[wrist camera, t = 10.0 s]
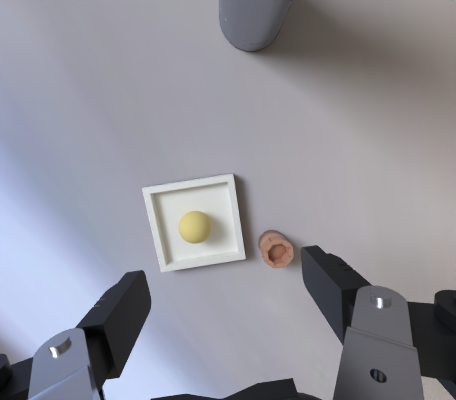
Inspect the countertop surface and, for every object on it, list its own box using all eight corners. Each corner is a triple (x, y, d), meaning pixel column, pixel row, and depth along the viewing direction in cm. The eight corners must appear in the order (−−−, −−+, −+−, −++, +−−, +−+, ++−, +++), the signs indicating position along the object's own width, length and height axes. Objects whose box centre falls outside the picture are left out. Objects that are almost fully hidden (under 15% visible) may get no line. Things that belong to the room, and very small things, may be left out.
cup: (256, 232, 37) (261, 242, 32) (283, 228, 37) (291, 237, 32) (260, 257, 38) (265, 269, 33) (285, 252, 38) (294, 265, 33)
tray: (147, 186, 35) (141, 188, 32) (232, 173, 35) (233, 174, 33) (164, 265, 37) (161, 272, 35) (244, 252, 38) (245, 258, 35)
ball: (179, 210, 35) (172, 218, 30) (209, 205, 35) (207, 212, 30) (184, 239, 36) (178, 251, 31) (214, 234, 36) (213, 246, 31)
